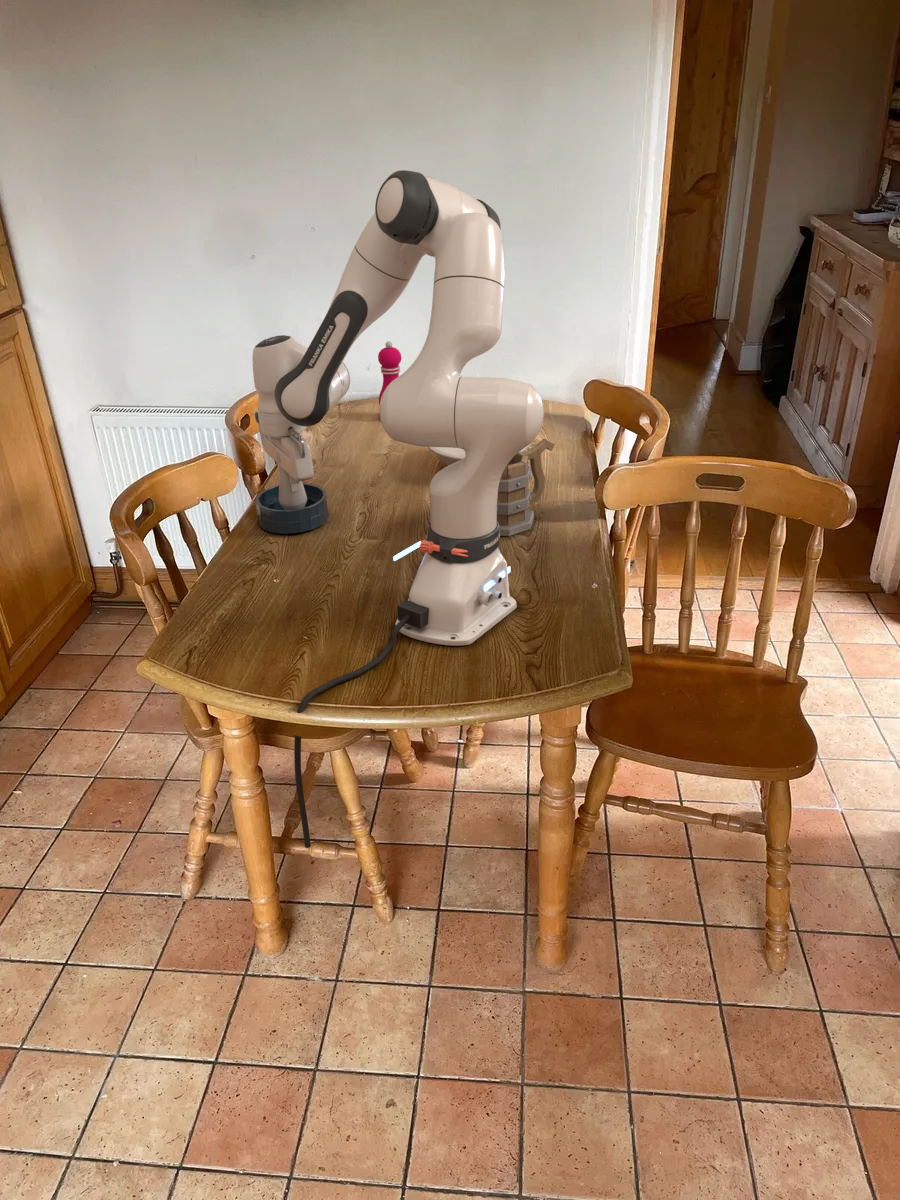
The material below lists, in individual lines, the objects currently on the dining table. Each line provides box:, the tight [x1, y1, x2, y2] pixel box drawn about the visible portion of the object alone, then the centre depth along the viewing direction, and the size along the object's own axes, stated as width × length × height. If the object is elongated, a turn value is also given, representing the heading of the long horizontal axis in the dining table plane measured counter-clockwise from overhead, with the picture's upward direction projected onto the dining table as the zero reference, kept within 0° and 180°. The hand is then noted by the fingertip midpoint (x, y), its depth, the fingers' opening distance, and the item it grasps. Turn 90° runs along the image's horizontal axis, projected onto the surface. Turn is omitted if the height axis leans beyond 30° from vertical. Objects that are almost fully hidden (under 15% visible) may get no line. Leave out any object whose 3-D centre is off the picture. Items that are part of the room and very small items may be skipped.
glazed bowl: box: [255, 482, 330, 534], centre depth 190 cm, size 14×14×6 cm
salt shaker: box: [276, 453, 307, 510], centre depth 187 cm, size 6×6×13 cm
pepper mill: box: [377, 340, 402, 406], centre depth 240 cm, size 7×7×20 cm
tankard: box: [497, 438, 556, 537], centre depth 185 cm, size 20×13×15 cm, turn 123°
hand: (291, 486), depth 187 cm, fingers closed on salt shaker, 3 cm apart
